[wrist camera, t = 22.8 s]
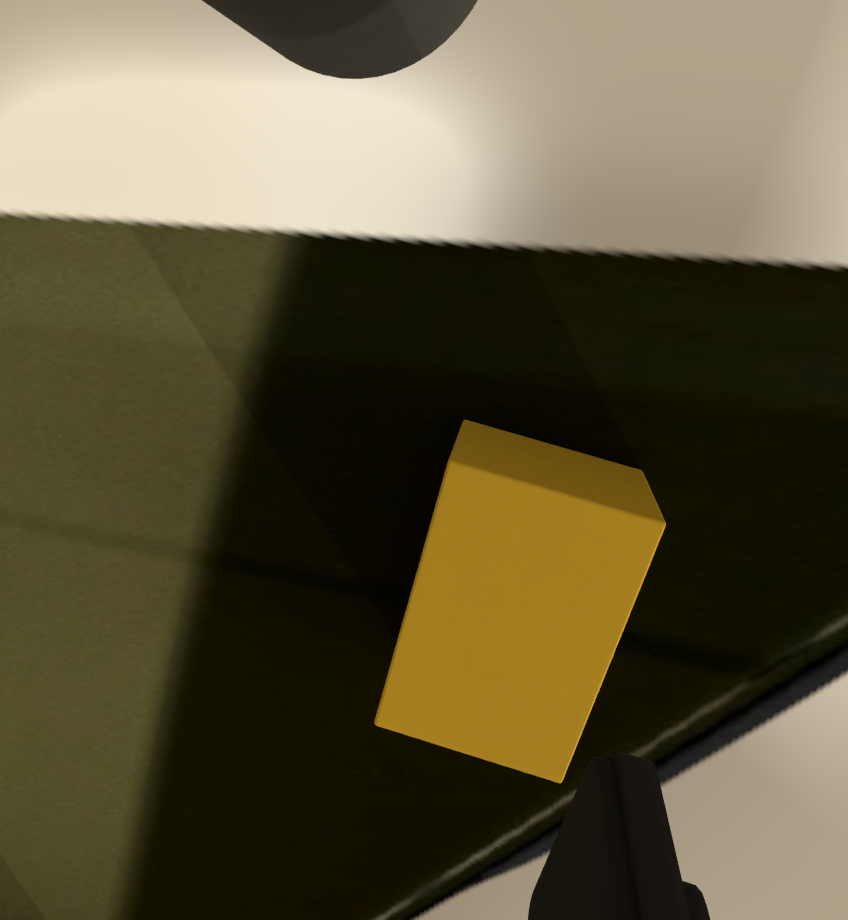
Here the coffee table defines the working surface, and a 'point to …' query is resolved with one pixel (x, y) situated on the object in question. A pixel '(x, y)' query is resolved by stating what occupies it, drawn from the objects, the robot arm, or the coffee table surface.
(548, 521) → the sponge
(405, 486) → the coffee table surface
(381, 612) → the coffee table surface
